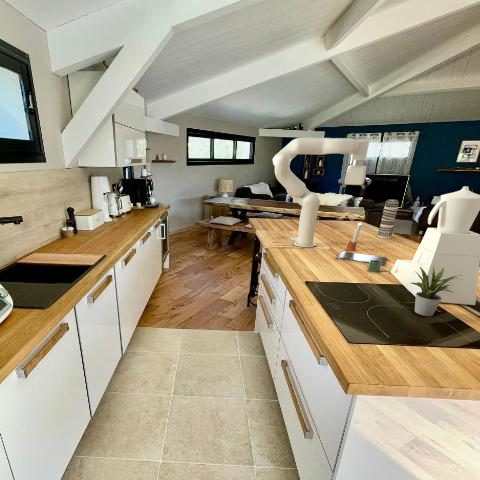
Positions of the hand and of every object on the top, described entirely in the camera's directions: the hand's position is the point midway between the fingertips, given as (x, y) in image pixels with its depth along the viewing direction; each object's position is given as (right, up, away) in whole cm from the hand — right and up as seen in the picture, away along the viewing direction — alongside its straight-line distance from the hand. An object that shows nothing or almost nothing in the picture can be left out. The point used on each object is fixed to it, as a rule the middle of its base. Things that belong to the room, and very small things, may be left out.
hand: (351, 195), depth 183 cm
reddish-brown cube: (0, -32, +2) cm, 32 cm away
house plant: (-15, -64, -78) cm, 101 cm away
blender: (+2, -54, -55) cm, 77 cm away
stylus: (+1, -31, +2) cm, 31 cm away
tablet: (-3, -39, -16) cm, 42 cm away
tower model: (+41, -19, +35) cm, 57 cm away
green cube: (-8, -47, -36) cm, 59 cm away
